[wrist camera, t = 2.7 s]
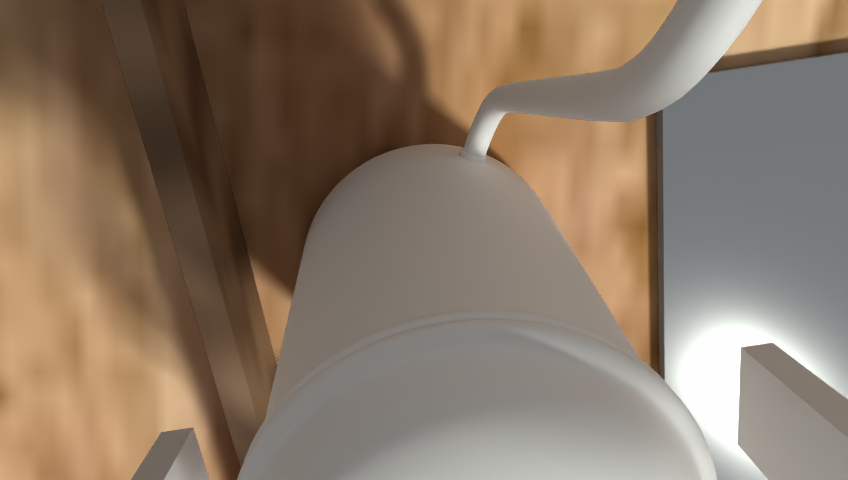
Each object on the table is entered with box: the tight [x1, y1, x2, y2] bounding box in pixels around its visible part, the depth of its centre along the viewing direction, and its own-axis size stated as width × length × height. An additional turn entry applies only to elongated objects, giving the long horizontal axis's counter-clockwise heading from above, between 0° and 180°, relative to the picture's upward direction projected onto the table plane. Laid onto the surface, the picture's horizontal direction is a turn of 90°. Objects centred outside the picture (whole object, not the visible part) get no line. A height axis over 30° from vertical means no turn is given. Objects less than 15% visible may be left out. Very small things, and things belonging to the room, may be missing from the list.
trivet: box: [656, 51, 848, 480], centre depth 26 cm, size 22×14×1 cm, turn 8°
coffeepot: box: [237, 0, 762, 480], centre depth 16 cm, size 11×25×19 cm, turn 165°
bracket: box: [101, 0, 277, 468], centre depth 23 cm, size 30×17×4 cm, turn 8°
